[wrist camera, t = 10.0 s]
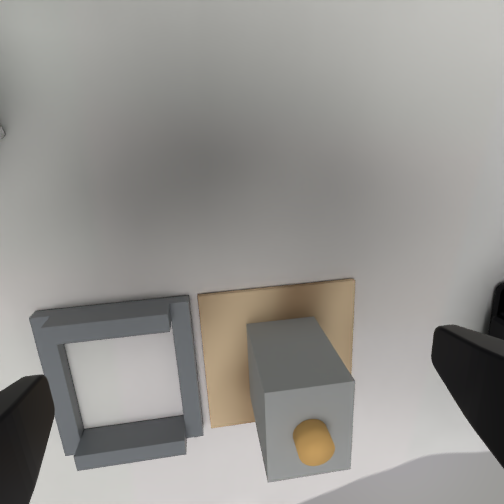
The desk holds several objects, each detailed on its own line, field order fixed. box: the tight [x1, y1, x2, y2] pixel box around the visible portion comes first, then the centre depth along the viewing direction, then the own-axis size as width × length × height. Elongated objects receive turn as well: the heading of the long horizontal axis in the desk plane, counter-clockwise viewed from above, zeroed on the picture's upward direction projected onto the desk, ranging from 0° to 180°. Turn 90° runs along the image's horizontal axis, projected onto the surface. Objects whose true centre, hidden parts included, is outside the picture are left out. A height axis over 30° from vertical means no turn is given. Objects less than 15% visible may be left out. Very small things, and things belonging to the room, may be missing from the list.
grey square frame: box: [29, 295, 203, 471], centre depth 21 cm, size 8×9×2 cm
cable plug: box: [246, 316, 355, 482], centre depth 19 cm, size 4×5×7 cm
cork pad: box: [198, 279, 355, 428], centre depth 23 cm, size 9×9×1 cm
